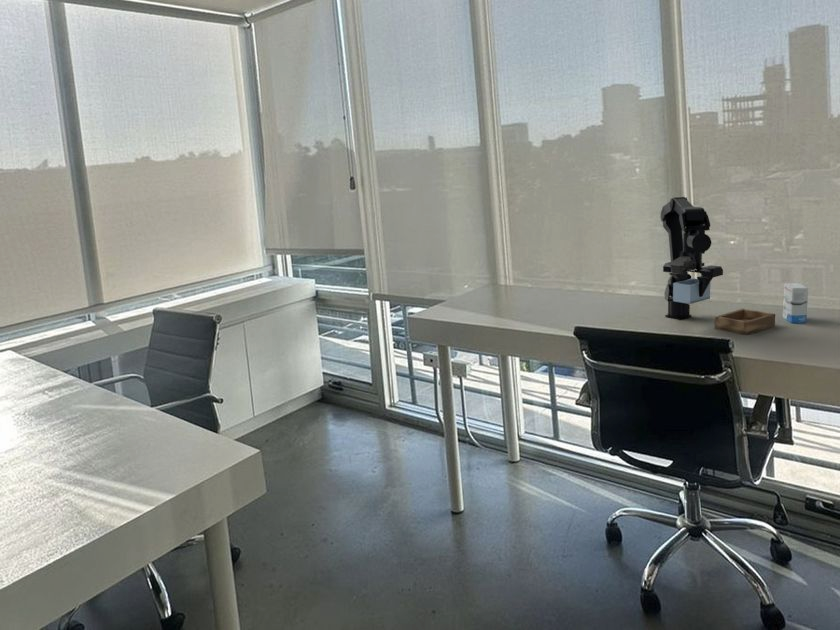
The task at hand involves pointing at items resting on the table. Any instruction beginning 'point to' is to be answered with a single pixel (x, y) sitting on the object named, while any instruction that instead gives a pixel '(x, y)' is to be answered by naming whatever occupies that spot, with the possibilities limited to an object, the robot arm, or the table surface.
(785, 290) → the ink box
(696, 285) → the blue crate
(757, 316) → the walnut crate
